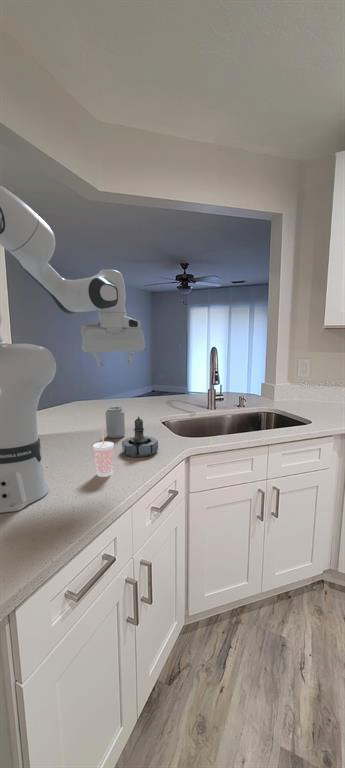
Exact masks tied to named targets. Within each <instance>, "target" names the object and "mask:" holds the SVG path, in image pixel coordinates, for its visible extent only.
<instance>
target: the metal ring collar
mask: <svg viewBox="0 0 345 768" xmlns="http://www.w3.org/2000/svg"><path fill="white" fill-rule="evenodd" d="M134 437H135V436H133V437H128V438H126V439H124V440H122V441H121V450H122V454H123V455H124V456H126V457H130V458H147V457H150V456H154V455H156V454H157V453H158V450H159V440H158V439H156V438H155V437H152V436H145V435H144V438H147V439H148V440H147V443H146V444H142V445H134V444H132V441H131V439H133V438H134Z"/></svg>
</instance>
